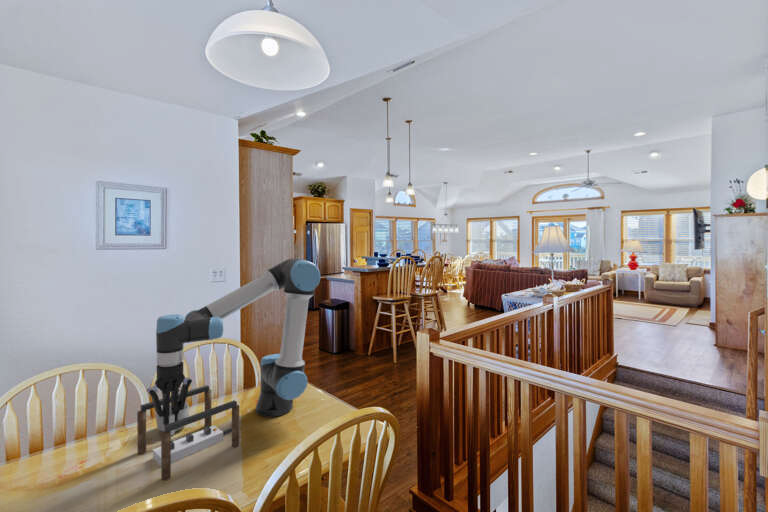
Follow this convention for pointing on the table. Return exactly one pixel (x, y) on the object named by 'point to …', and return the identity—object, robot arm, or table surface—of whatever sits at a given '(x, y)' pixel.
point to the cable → (199, 416)
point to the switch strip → (192, 443)
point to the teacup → (181, 415)
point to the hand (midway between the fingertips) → (170, 433)
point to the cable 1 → (190, 393)
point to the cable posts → (167, 435)
